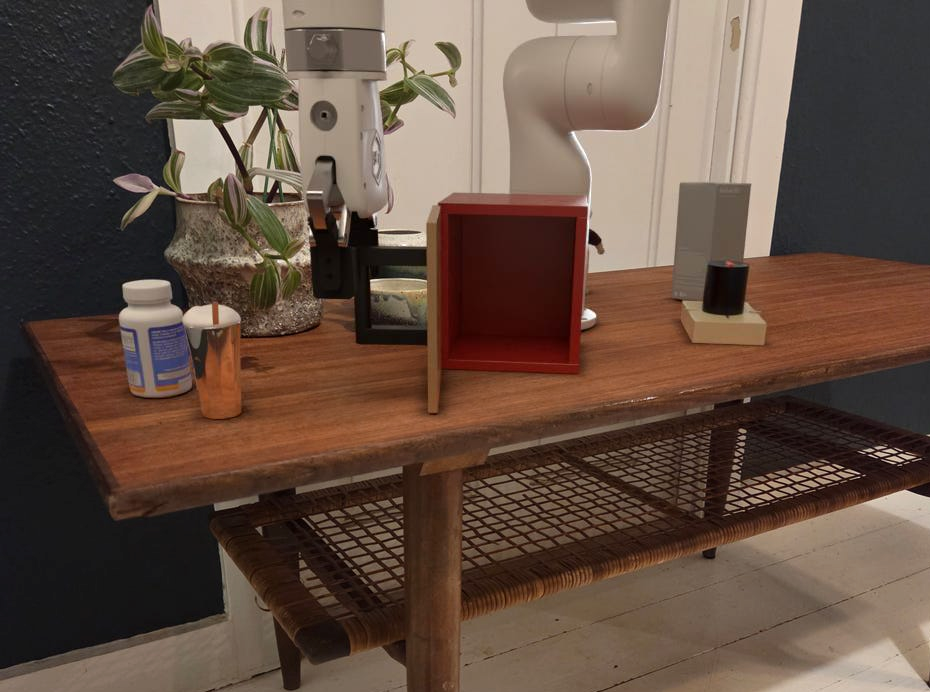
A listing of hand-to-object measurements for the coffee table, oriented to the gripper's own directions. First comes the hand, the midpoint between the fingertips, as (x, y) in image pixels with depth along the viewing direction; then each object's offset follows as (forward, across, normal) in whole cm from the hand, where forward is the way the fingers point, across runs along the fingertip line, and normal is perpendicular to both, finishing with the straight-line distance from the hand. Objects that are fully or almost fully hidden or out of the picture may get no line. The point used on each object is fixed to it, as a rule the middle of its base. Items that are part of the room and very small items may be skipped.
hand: (348, 286), depth 74 cm
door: (+10, +4, -3) cm, 12 cm away
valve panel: (+11, +33, -37) cm, 51 cm away
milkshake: (+10, -5, +10) cm, 15 cm away
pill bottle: (+10, +1, +18) cm, 21 cm away
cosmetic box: (+12, +54, -38) cm, 67 cm away
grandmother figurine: (+11, +56, -20) cm, 61 cm away
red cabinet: (+11, +18, -13) cm, 25 cm away
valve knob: (+8, +33, -37) cm, 50 cm away
